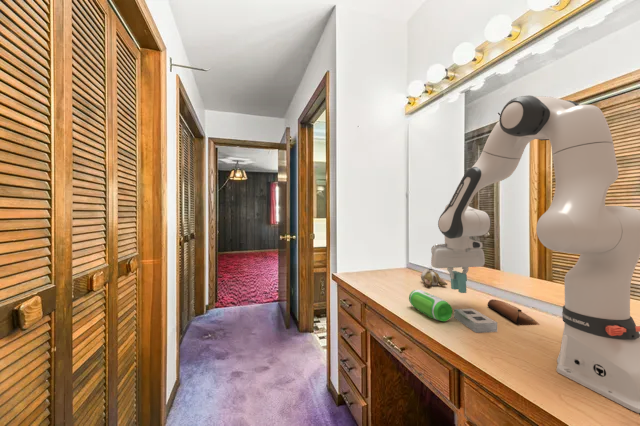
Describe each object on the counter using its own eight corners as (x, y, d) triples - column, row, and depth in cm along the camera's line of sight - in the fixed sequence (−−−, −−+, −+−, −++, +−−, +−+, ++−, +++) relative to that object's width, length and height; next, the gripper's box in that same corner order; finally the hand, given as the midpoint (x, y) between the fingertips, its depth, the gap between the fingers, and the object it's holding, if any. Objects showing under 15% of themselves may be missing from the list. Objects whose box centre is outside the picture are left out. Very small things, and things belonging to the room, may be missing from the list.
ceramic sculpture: (434, 265, 155) (448, 272, 140) (434, 280, 155) (448, 289, 140) (415, 265, 154) (427, 273, 139) (415, 281, 155) (427, 290, 140)
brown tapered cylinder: (543, 325, 94) (532, 307, 94) (524, 335, 94) (513, 318, 94) (508, 306, 112) (499, 292, 112) (493, 316, 112) (484, 301, 112)
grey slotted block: (497, 331, 90) (497, 322, 90) (475, 332, 89) (475, 323, 89) (472, 316, 103) (472, 308, 102) (454, 317, 102) (453, 309, 102)
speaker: (454, 322, 98) (453, 300, 98) (436, 324, 97) (435, 302, 97) (423, 306, 115) (423, 287, 115) (407, 307, 114) (407, 289, 114)
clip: (467, 293, 108) (466, 274, 108) (461, 293, 108) (460, 274, 108) (456, 288, 116) (455, 270, 116) (450, 288, 116) (449, 270, 116)
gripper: (435, 244, 108) (436, 281, 108) (486, 243, 110) (487, 279, 109) (427, 243, 115) (428, 278, 114) (476, 242, 116) (477, 276, 116)
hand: (458, 278), depth 112 cm, fingers closed on clip, 2 cm apart
